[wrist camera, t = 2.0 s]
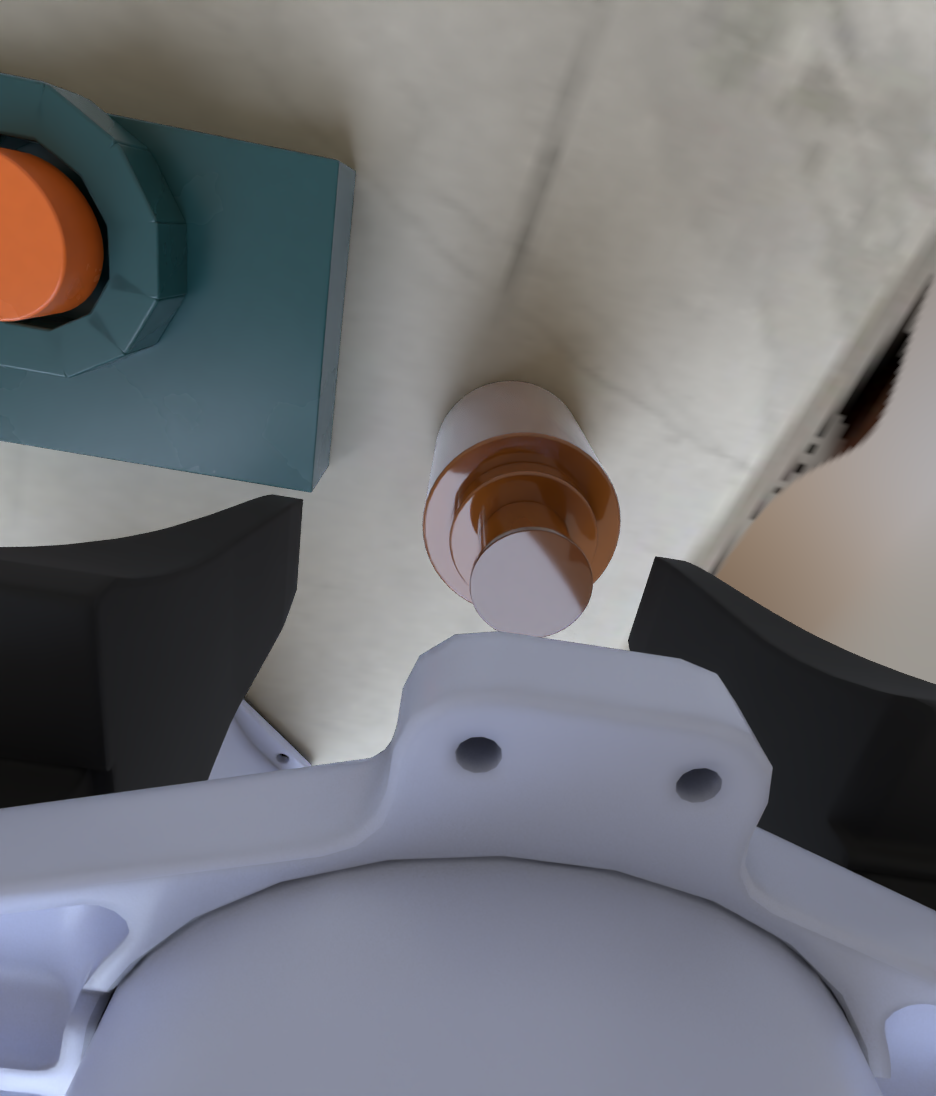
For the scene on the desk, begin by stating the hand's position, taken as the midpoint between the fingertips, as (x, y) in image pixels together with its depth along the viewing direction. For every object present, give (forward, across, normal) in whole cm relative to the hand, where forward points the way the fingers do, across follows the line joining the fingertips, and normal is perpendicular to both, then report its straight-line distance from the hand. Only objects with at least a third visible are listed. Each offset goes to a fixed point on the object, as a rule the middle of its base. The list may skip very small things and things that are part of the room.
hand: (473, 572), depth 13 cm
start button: (+6, +12, -4) cm, 14 cm away
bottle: (+10, -1, 0) cm, 10 cm away
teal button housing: (+10, +11, -3) cm, 15 cm away
